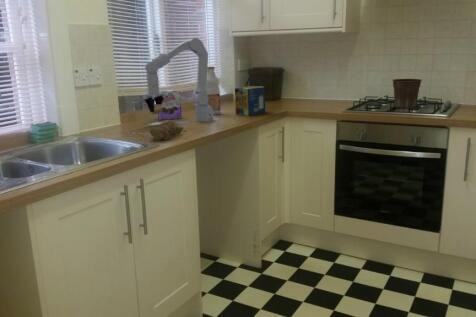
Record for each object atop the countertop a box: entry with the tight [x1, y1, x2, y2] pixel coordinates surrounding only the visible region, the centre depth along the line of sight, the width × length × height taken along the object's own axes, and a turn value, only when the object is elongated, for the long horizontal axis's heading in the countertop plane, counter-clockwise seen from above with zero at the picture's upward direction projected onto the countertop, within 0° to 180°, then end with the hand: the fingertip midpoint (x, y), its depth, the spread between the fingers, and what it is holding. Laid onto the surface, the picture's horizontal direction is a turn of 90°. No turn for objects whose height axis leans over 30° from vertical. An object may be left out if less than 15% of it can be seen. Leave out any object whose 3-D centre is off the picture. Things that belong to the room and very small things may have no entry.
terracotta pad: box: [159, 119, 173, 123], centre depth 244 cm, size 6×6×1 cm
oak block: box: [148, 103, 162, 115], centre depth 235 cm, size 4×4×4 cm
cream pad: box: [147, 121, 162, 125], centre depth 237 cm, size 6×6×1 cm
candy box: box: [155, 89, 183, 120], centre depth 255 cm, size 14×6×16 cm, turn 105°
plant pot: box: [391, 78, 423, 110], centre depth 262 cm, size 16×16×16 cm
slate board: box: [145, 120, 191, 127], centre depth 238 cm, size 16×18×1 cm
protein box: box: [234, 85, 266, 117], centre depth 264 cm, size 10×15×16 cm
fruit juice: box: [206, 66, 221, 116], centre depth 268 cm, size 9×9×28 cm
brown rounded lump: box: [149, 121, 184, 141], centre depth 204 cm, size 13×8×20 cm
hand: (155, 111), depth 236 cm, fingers closed on oak block, 4 cm apart
